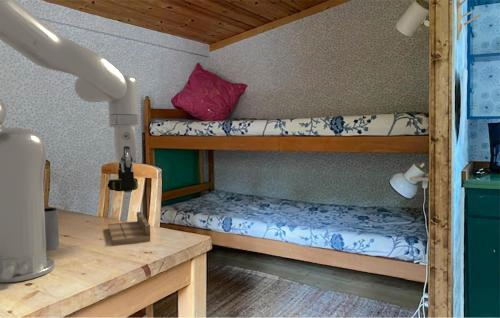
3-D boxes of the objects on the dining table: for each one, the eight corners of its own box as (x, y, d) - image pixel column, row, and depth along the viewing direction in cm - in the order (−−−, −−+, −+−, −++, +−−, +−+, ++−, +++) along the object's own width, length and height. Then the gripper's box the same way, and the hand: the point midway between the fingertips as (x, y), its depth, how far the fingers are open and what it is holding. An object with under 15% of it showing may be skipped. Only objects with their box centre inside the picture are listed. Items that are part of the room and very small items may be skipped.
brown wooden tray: (150, 241, 105) (150, 225, 105) (112, 245, 101) (112, 229, 101) (141, 225, 122) (140, 211, 122) (108, 228, 118) (108, 214, 118)
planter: (40, 246, 100) (38, 208, 99) (58, 244, 102) (57, 207, 101) (39, 251, 96) (37, 212, 95) (59, 248, 98) (57, 210, 97)
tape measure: (129, 189, 109) (129, 176, 108) (142, 191, 104) (142, 178, 104) (107, 192, 104) (107, 178, 103) (120, 194, 99) (119, 180, 99)
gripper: (142, 121, 96) (144, 188, 98) (133, 122, 112) (135, 180, 114) (111, 121, 93) (114, 190, 95) (107, 122, 109) (109, 181, 111)
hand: (126, 184), depth 104 cm, fingers closed on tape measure, 7 cm apart
